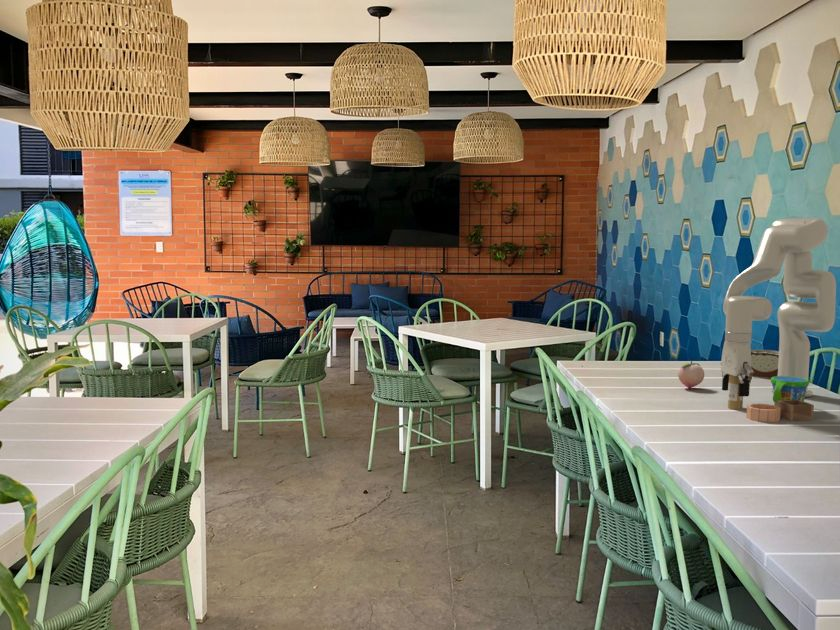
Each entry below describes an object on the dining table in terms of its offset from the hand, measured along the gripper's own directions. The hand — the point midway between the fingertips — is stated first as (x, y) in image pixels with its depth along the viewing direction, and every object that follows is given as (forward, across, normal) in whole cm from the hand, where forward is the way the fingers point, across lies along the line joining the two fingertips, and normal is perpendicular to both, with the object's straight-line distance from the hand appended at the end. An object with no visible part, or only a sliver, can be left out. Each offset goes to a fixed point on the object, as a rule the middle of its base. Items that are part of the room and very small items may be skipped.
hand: (735, 393), depth 252 cm
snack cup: (+6, +3, +16) cm, 17 cm away
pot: (+5, +14, +1) cm, 15 cm away
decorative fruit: (+5, -35, +3) cm, 36 cm away
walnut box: (+5, +14, +11) cm, 19 cm away
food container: (+5, -55, +43) cm, 70 cm away
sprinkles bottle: (+6, 0, 0) cm, 6 cm away
